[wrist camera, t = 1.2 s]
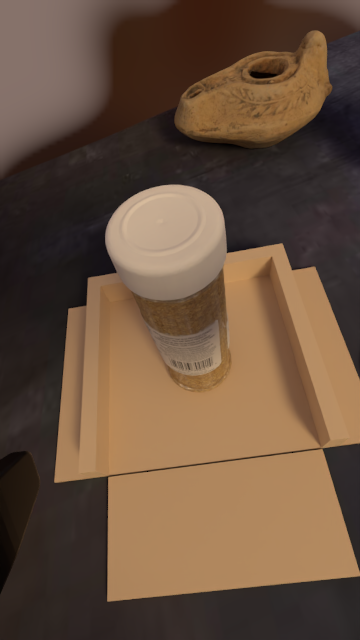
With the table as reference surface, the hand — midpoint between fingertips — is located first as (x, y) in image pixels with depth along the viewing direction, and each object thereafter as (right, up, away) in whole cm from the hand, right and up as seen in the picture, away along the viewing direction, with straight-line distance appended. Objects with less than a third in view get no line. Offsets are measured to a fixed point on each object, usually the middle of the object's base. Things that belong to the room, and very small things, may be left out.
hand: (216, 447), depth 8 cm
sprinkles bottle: (+1, 0, +16) cm, 16 cm away
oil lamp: (+7, +23, +29) cm, 37 cm away
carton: (+1, -2, +15) cm, 15 cm away
